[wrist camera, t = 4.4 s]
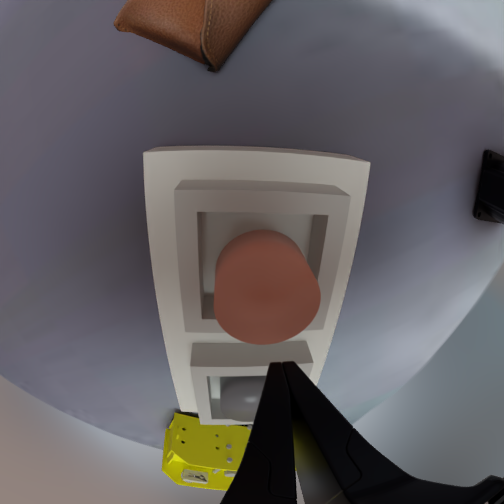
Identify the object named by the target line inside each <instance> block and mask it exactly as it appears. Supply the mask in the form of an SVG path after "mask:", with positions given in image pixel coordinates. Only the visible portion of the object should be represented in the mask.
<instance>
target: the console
mask: <svg viewBox="0 0 504 504" xmlns="http://www.w3.org/2000/svg"><path fill="white" fill-rule="evenodd" d="M143 162H144V186H145V202H146V215H147V227H148V237H149V246H150V255H151V263H152V271H153V278H154V285H155V292H156V298H157V304H158V310H159V316H160V321H161V327H162V332H163V337H164V342H165V347H166V352H167V356H168V361H169V365H170V370H171V374H172V378H173V382H174V386H175V390H176V394H177V398H178V402H179V405H180V409H181V411H183V412H198V415H199V420H200V424H203V425H242V424H253V422H241V421H235V420H232V419H229V418H227V417H226V416H224V415H223V414H222V412H221V409H220V376H265V375H266V374H267V371H268V367H269V363H270V362H281V363H282V362H283V361H294V362H296V364H297V365H298V366H299V367H300V368H301V369H302V371H303V372H304V373H305V374H306V375H307V376H308V377H309V379H310V380H311V381H312V382H313V383H314V384H315V385H316V386H317V383H318V380H319V377H320V374H321V372H322V369H323V366H324V363H325V360H326V357H327V354H328V350H329V347H330V344H331V341H332V338H333V334H334V331H335V328H336V324H337V321H338V317H339V314H340V310H341V307H342V303H343V299H344V295H345V292H346V288H347V284H348V280H349V276H350V271H351V267H352V263H353V258H354V254H355V249H356V245H357V240H358V235H359V230H360V225H361V219H362V214H363V208H364V203H365V197H366V190H367V184H368V177H369V170H370V162H368V161H365V160H362V159H359V158H356V157H353V156H350V155H345V154H337V153H329V152H320V151H310V150H299V149H287V148H273V147H253V146H165V147H155V148H153V149H150V150H148V151H145V152H143ZM253 230H272V231H277V232H280V233H282V234H284V235H286V236H288V237H289V238H291V239H292V240H293V241H294V242H295V243H296V244H297V245H298V247H299V248H300V250H301V252H302V254H303V255H304V257H305V259H306V261H307V263H308V265H309V267H310V269H311V271H312V272H313V274H314V276H315V278H316V280H317V282H318V285H319V287H320V292H321V301H320V306H319V310H318V312H317V314H316V316H315V318H314V319H313V321H312V322H311V323H310V324H309V325H308V326H307V327H306V328H305V329H304V330H303V331H302V332H300V333H299V334H297V335H296V336H294V337H292V338H290V339H288V340H285V341H283V342H279V343H275V344H267V345H257V344H250V343H245V342H242V341H240V340H237V339H235V338H233V337H232V336H230V335H229V334H228V333H226V332H225V331H224V330H223V329H222V328H221V326H220V325H219V323H218V321H217V319H216V317H215V314H214V307H213V306H214V286H215V269H216V262H217V259H218V257H219V255H220V253H221V251H222V250H223V248H224V247H225V246H226V245H227V244H228V243H229V242H230V241H231V240H232V239H234V238H235V237H237V236H239V235H241V234H243V233H246V232H249V231H253Z"/></svg>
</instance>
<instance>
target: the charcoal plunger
mask: <svg viewBox="0 0 504 504" xmlns="http://www.w3.org/2000/svg"><path fill="white" fill-rule="evenodd" d="M265 378H266V375H265V376H220V409H221V412H222V414H223V415H224V416H226V417H227V418H229V419H232V420H235V421H241V422H254V418H255V415H256V411H257V408H258V404H259V400H260V397H261V393H262V389H263V386H264V382H265Z"/></svg>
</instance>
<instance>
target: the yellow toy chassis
mask: <svg viewBox="0 0 504 504" xmlns="http://www.w3.org/2000/svg"><path fill="white" fill-rule="evenodd" d="M169 428H170V429H167V428H166V431H165V440H164V450H163V461H162V471H163V472H164V473H165V474H166V475H168V477H170V478H171V479H172V480H173V481H174V482H175V483H176V484H179V485H185V486H191V487H198V488H206V489H216V490H228V488H229V486H230V484H231V482H232V480H233V478H234V476H235V474H236V472H237V470H238V468H239V466H240V463H241V460H242V458H243V455H244V452H245V449H246V445H247V443H248V439H249V436H250V432H251V429H252V426H251V425H248V426H247V427H244V426H238V425H203V424H200V420H199V418H195V417H191V416H187V415H183V414H179V413H174V419H173V421H172V422H171V424H170V426H169ZM295 471H296V467H295ZM182 472H183V479H182V478H181V473H182ZM190 474H191V475H190ZM194 475H195V477H194ZM185 481H189V482H193V483H187V482H185Z"/></svg>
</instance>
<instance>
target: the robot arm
mask: <svg viewBox="0 0 504 504" xmlns="http://www.w3.org/2000/svg"><path fill="white" fill-rule="evenodd" d="M473 215H474V218H476V219H478V220H484V221H491V222H497V223H502V224H504V156H502V155H499V154H497V153H495V152H493V151H491V150H486V151H485V155H484V162H483V169H482V175H481V180H480V186H479V191H478V195H477V200H476V205H475V209H474V213H473ZM295 467H296V471H297V475H298V478H299V482H300V486H301V490H302V494H303V498H304V502H305V504H504V478H501V477H497V476H493V475H490V476H488V477H487V478H485V479H483V480H482V481H480V482H479V483H477V484H476V485H474V486H471V487H460V486H454V485H447V484H441V483H436V482H431V481H426V480H421V479H418V478H415V477H413V476H411V475H409V474H408V473H406V472H404V471H403V470H402V469H401V468H399V467H398V466H397V465H395V464H394V463H393V462H391V461H390V460H389V459H388V458H386V457H385V456H384V455H382V454H381V453H380V452H379V451H378V450H376V449H375V448H374V447H373V446H372V445H370V444H369V443H368V442H367V441H366V440H365V439H364V438H363V437H362V436H361V435H360V434H359V432H358V431H357V430H356V429H355V428H353V426H352V425H351V424H350V423H349V422H348V421H347V420H346V419H345V417H344V416H343V415H342V414H341V413H340V412H339V411H338V410H337V409H336V408H335V406H334V405H333V404H332V403H331V402H330V401H329V400H328V399H327V398H326V397H325V395H324V394H323V393H322V392H321V391H320V390H319V389H318V388H317V386H316V385H315V384H314V383H313V382H312V381H311V380H310V379H309V377H308V376H307V375H306V374H305V373H304V372H303V371H302V369H301V368H300V367H299V366H298V365H297V364H296V362H294V361H283V362H282V363H281V362H270V363H269V367H268V371H267V374H266V378H265V382H264V386H263V389H262V393H261V397H260V400H259V404H258V408H257V411H256V415H255V418H254V422H253V425H252V429H251V432H250V436H249V439H248V443H247V445H246V449H245V452H244V455H243V458H242V460H241V463H240V466H239V468H238V470H237V472H236V474H235V476H234V478H233V480H232V482H231V484H230V486H229V488H228V490H227V492H226V494H225V496H224V497H223V499H222V501H221V503H220V504H297V500H296V499H297V493H296V473H295Z"/></svg>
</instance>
